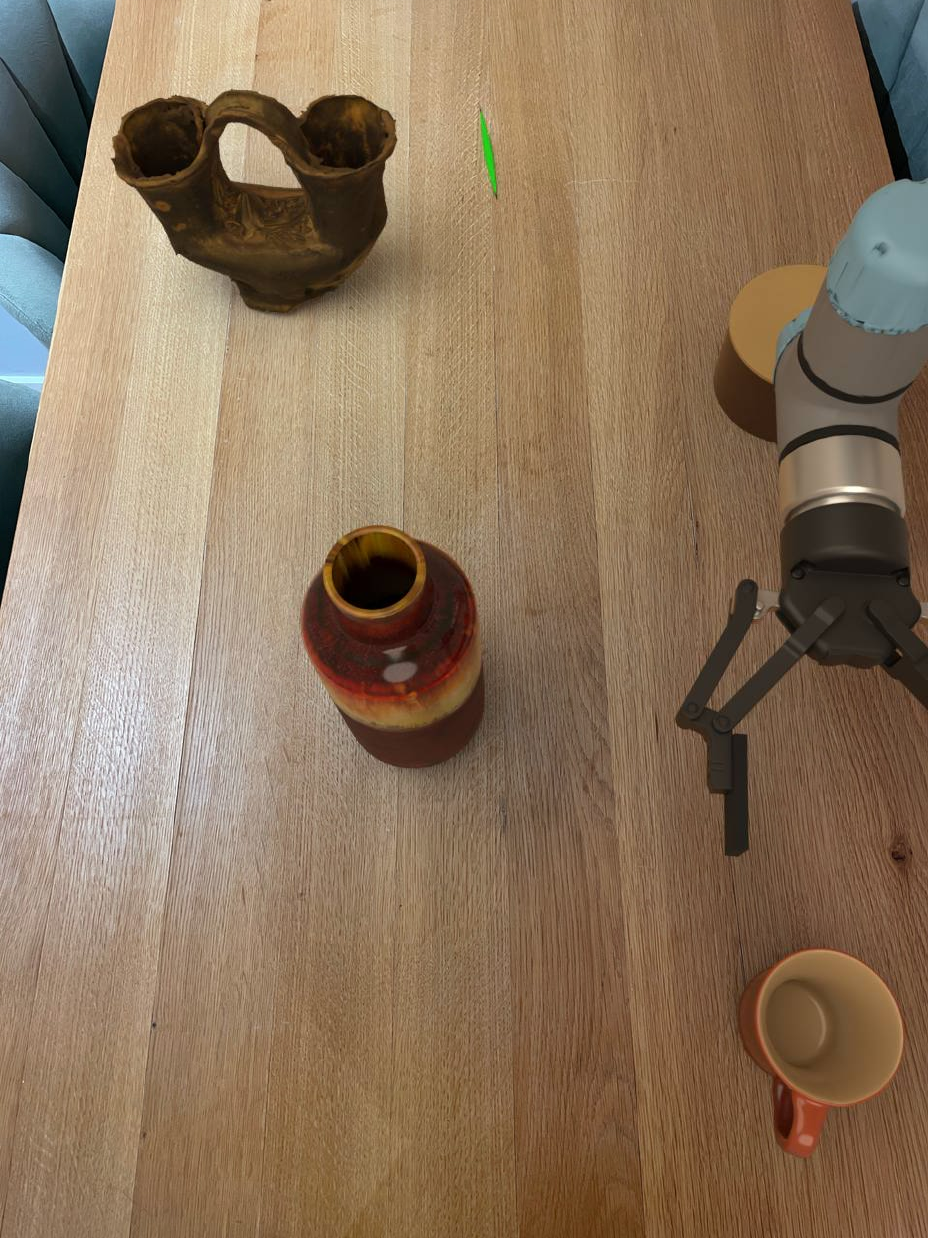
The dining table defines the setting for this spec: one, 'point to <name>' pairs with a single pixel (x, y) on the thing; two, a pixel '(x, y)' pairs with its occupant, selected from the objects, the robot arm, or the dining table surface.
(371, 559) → the vase
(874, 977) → the mug
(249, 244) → the pottery vessel
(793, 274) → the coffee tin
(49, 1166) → the dining table surface
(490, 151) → the leaf
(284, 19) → the dining table surface
